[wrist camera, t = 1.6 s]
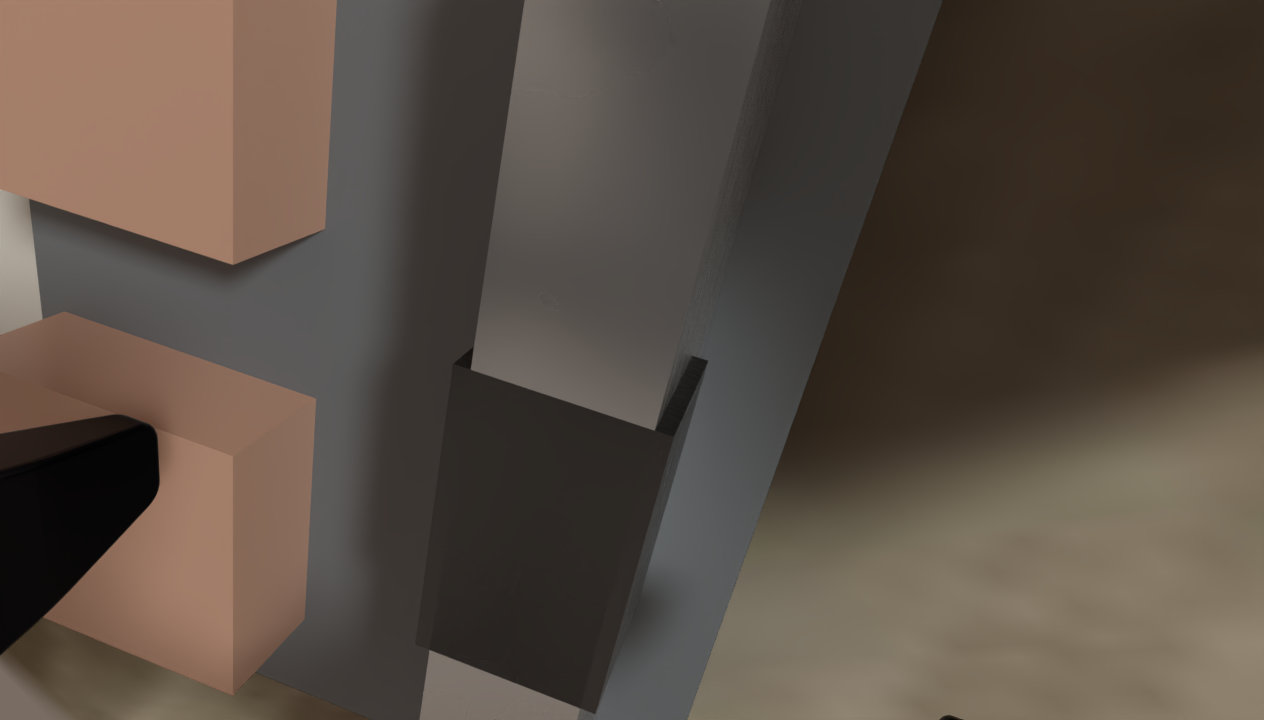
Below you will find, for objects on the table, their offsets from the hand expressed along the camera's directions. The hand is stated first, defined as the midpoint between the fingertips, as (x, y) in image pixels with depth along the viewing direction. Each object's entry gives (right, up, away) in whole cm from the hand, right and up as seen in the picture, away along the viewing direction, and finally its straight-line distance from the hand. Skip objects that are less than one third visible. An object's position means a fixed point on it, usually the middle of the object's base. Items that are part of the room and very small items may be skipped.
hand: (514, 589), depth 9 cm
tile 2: (-7, 0, +6) cm, 9 cm away
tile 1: (-5, +7, +3) cm, 9 cm away
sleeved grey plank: (+1, +2, +4) cm, 4 cm away
